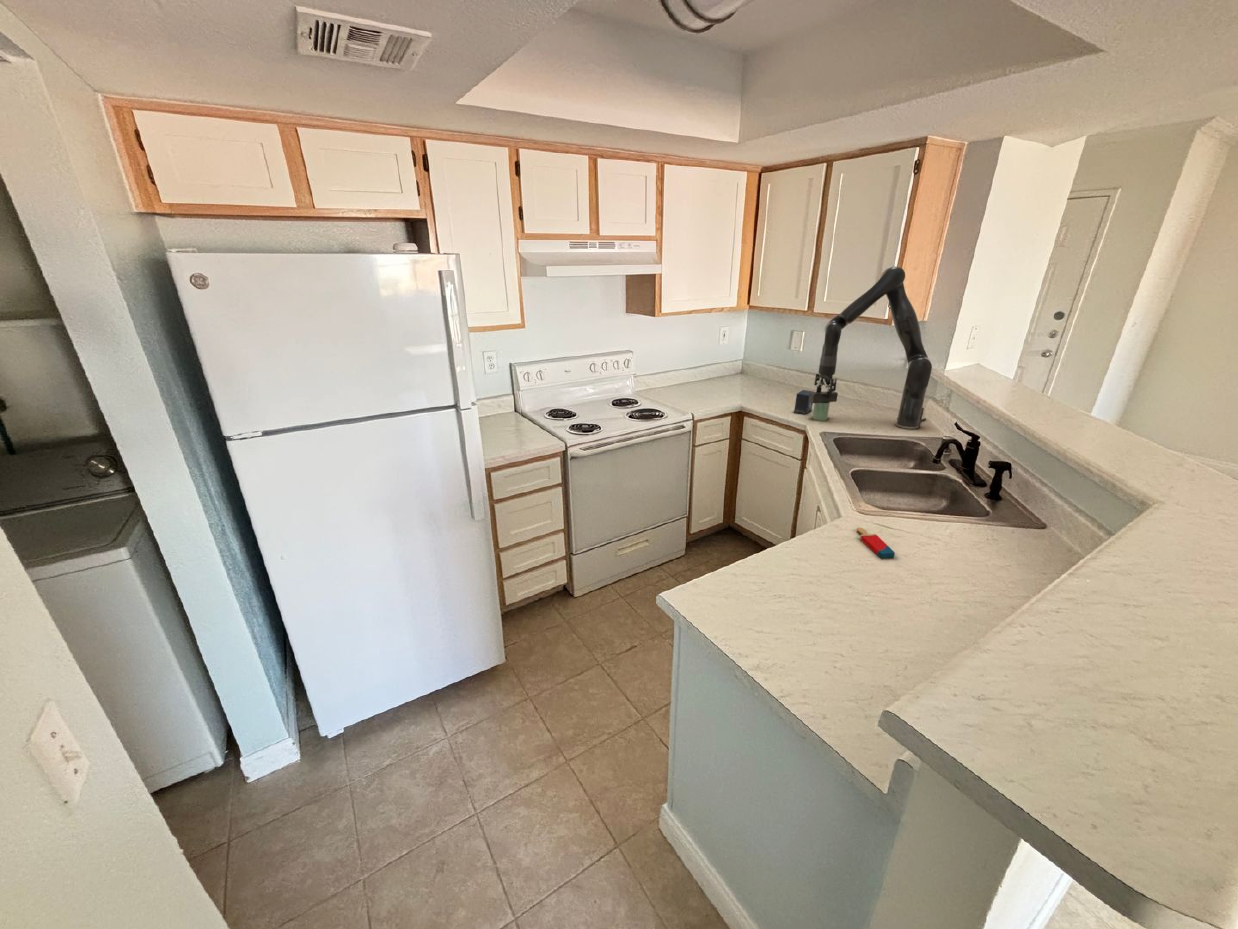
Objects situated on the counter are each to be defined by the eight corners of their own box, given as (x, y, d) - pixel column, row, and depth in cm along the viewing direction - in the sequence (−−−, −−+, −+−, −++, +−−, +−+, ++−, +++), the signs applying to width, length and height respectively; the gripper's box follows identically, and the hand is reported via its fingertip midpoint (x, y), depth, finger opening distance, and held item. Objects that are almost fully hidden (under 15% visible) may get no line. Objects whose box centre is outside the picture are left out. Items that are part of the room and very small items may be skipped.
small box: (805, 414, 260) (808, 395, 256) (793, 412, 264) (795, 393, 260) (812, 410, 268) (815, 391, 264) (800, 408, 271) (802, 389, 267)
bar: (831, 399, 253) (833, 390, 251) (836, 401, 249) (837, 392, 247) (808, 401, 250) (809, 392, 249) (812, 403, 247) (814, 394, 245)
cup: (822, 416, 257) (824, 399, 253) (829, 420, 251) (832, 402, 247) (810, 417, 256) (812, 400, 252) (817, 421, 249) (820, 403, 246)
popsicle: (866, 525, 147) (896, 552, 134) (865, 530, 148) (895, 557, 134) (851, 526, 147) (880, 553, 133) (850, 530, 148) (879, 558, 134)
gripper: (843, 366, 237) (838, 399, 243) (826, 361, 250) (821, 393, 256) (829, 367, 236) (824, 400, 242) (812, 362, 249) (808, 394, 255)
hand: (823, 396), depth 249 cm, fingers open, 8 cm apart
